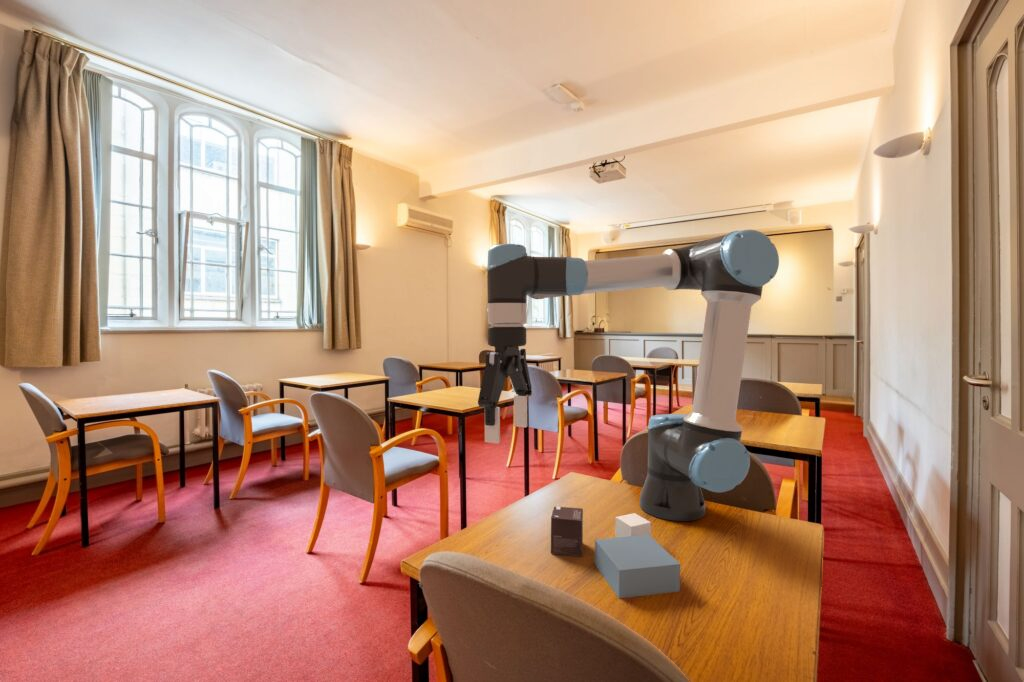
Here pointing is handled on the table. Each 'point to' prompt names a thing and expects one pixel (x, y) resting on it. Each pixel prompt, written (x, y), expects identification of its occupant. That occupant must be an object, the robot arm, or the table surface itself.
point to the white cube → (631, 526)
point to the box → (567, 531)
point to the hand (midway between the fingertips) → (507, 434)
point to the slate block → (637, 566)
